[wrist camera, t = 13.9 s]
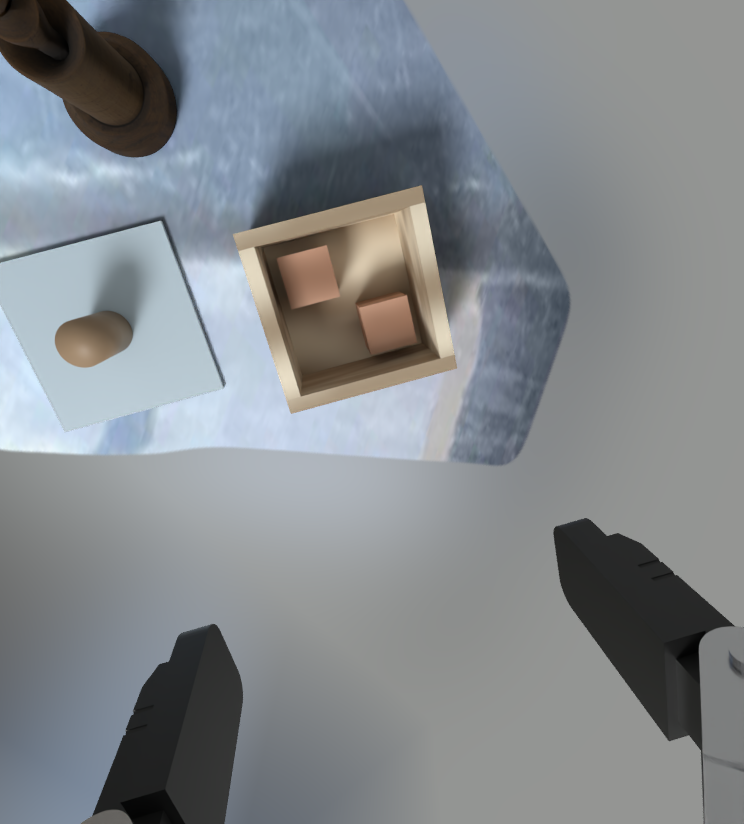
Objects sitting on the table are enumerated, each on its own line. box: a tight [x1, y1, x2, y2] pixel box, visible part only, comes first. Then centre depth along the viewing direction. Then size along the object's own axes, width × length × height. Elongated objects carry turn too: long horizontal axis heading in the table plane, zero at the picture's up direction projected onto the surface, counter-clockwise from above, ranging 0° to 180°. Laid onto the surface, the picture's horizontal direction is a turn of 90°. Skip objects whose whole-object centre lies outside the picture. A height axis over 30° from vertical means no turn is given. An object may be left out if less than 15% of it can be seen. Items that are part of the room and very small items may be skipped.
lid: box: [0, 221, 224, 432], centre depth 35 cm, size 13×13×6 cm
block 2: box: [355, 291, 417, 355], centre depth 37 cm, size 4×4×4 cm
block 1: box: [276, 245, 340, 309], centre depth 35 cm, size 4×4×4 cm
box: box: [233, 185, 457, 414], centre depth 35 cm, size 12×12×7 cm
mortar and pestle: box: [0, 0, 177, 157], centre depth 24 cm, size 7×6×18 cm
